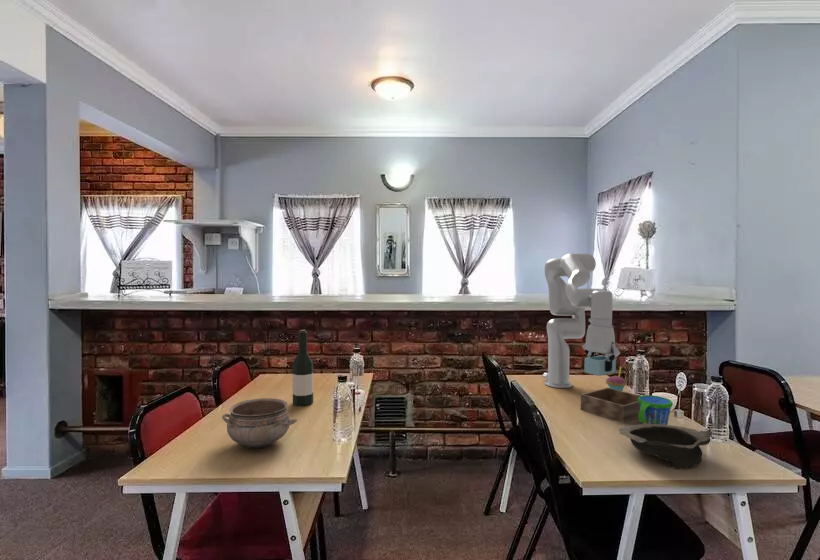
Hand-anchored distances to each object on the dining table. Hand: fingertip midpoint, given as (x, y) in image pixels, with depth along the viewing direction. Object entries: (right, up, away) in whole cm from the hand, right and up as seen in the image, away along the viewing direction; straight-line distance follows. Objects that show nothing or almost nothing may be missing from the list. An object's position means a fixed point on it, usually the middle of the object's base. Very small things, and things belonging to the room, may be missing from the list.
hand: (600, 368), depth 175 cm
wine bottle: (-117, -17, +12) cm, 118 cm away
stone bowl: (+3, -19, -38) cm, 43 cm away
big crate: (+7, -17, +3) cm, 19 cm away
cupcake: (+20, -17, +31) cm, 40 cm away
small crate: (0, -1, 0) cm, 1 cm away
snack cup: (+13, -18, -15) cm, 27 cm away
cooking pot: (-120, -18, -31) cm, 126 cm away
